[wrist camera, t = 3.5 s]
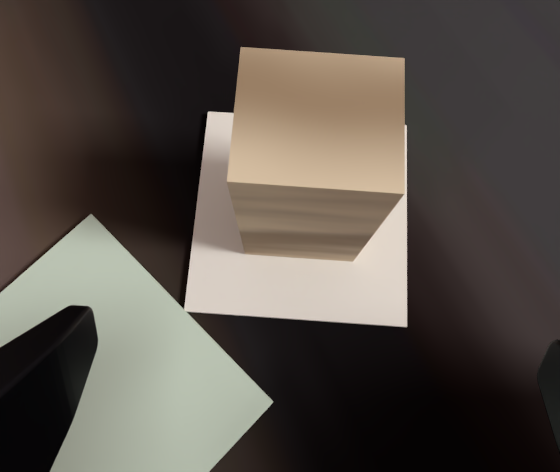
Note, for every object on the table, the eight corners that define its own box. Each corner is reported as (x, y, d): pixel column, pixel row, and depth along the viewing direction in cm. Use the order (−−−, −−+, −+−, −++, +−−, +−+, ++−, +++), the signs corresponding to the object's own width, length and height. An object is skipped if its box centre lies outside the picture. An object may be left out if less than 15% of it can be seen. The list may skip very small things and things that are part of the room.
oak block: (352, 261, 22) (404, 194, 13) (244, 254, 22) (226, 181, 13) (355, 173, 23) (404, 58, 15) (252, 166, 23) (240, 47, 15)
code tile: (405, 327, 22) (407, 326, 21) (184, 312, 22) (183, 311, 21) (405, 128, 24) (406, 124, 24) (208, 114, 24) (207, 111, 24)
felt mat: (53, 637, 18) (49, 643, 18) (-124, 406, 20) (-131, 407, 20) (273, 401, 21) (273, 402, 20) (94, 216, 23) (91, 213, 22)
